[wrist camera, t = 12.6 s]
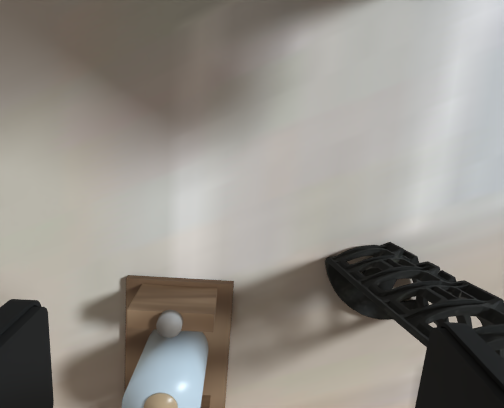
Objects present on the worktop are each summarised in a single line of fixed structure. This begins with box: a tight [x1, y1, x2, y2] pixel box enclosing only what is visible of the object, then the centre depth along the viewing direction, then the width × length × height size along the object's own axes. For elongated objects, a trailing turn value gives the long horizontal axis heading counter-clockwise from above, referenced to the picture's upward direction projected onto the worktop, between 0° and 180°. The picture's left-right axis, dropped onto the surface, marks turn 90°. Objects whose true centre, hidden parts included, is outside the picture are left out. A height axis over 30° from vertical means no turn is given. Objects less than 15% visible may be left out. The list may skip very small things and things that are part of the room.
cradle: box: [125, 275, 234, 408], centre depth 35 cm, size 14×10×7 cm
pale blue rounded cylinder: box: [122, 329, 208, 408], centre depth 34 cm, size 6×6×8 cm
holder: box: [325, 242, 504, 359], centre depth 28 cm, size 11×8×20 cm
